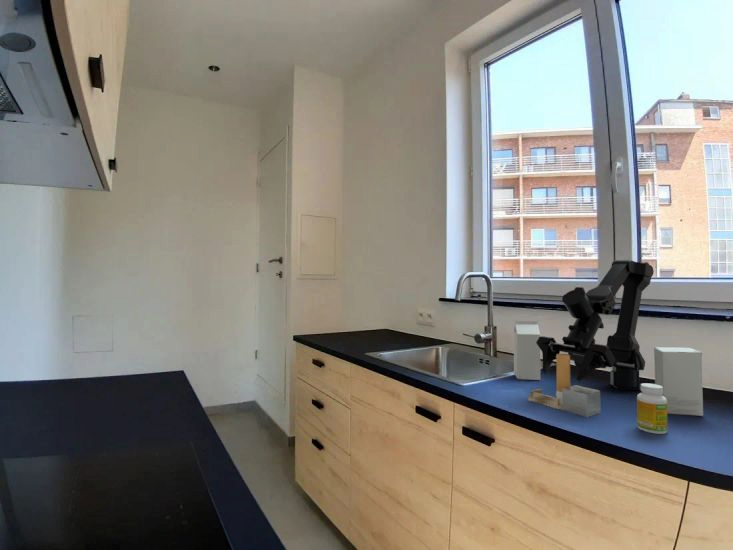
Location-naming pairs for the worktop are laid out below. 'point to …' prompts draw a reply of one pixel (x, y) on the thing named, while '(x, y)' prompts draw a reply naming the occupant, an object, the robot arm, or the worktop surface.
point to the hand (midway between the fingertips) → (560, 376)
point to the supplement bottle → (652, 409)
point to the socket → (581, 400)
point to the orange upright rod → (562, 374)
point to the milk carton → (526, 350)
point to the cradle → (544, 399)
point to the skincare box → (680, 379)
